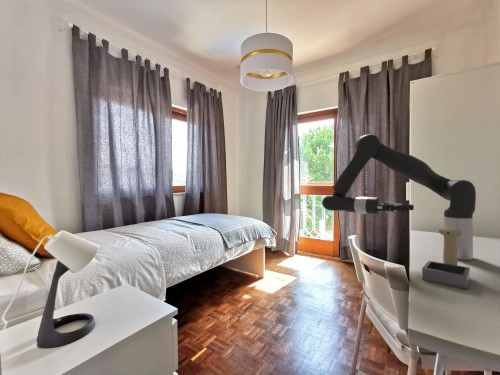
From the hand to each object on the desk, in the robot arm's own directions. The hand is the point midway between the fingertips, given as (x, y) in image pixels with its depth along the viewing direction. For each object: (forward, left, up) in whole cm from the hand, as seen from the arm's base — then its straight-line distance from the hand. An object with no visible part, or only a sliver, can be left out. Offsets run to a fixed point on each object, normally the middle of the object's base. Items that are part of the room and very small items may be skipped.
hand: (411, 208), depth 93 cm
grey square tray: (+10, +12, -22) cm, 27 cm away
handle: (0, +12, -22) cm, 25 cm away
